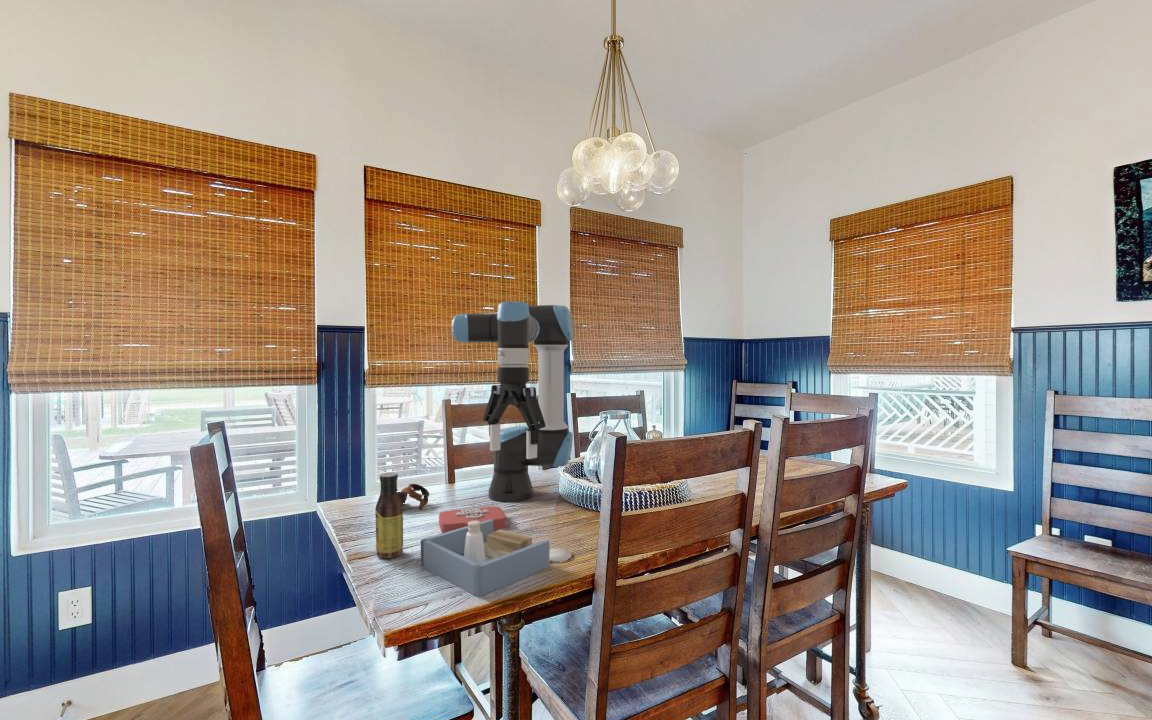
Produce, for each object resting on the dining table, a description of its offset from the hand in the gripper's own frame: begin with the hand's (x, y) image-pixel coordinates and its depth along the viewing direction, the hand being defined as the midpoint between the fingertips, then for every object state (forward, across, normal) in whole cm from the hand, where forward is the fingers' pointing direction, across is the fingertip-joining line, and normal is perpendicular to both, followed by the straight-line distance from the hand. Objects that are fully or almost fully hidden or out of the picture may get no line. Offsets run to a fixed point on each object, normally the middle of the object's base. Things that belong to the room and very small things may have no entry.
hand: (512, 454), depth 124 cm
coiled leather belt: (+25, -53, +2) cm, 58 cm away
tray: (+25, 0, -8) cm, 26 cm away
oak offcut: (+22, 0, -1) cm, 22 cm away
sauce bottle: (+25, -22, -20) cm, 39 cm away
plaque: (+25, -24, +6) cm, 36 cm away
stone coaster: (+25, +8, +7) cm, 27 cm away
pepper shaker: (+25, 0, -11) cm, 27 cm away
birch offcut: (+25, 0, -1) cm, 25 cm away
